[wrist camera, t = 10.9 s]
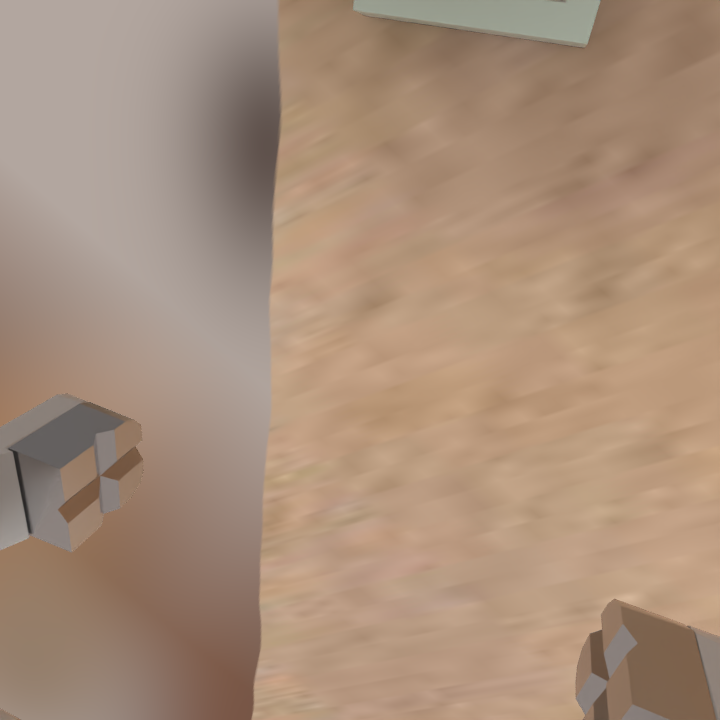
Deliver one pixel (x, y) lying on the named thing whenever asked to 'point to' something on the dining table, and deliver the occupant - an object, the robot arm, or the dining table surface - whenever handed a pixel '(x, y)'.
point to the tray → (495, 17)
